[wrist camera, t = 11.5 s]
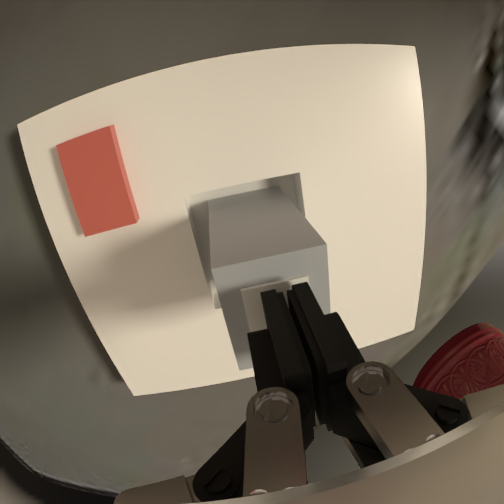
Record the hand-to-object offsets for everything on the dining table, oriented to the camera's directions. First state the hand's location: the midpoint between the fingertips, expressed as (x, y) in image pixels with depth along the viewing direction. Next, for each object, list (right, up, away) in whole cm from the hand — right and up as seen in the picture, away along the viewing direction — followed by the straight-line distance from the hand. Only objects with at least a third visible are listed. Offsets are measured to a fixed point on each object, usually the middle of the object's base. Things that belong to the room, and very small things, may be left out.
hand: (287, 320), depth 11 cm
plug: (-1, +4, +8) cm, 9 cm away
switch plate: (-1, +4, +8) cm, 9 cm away
